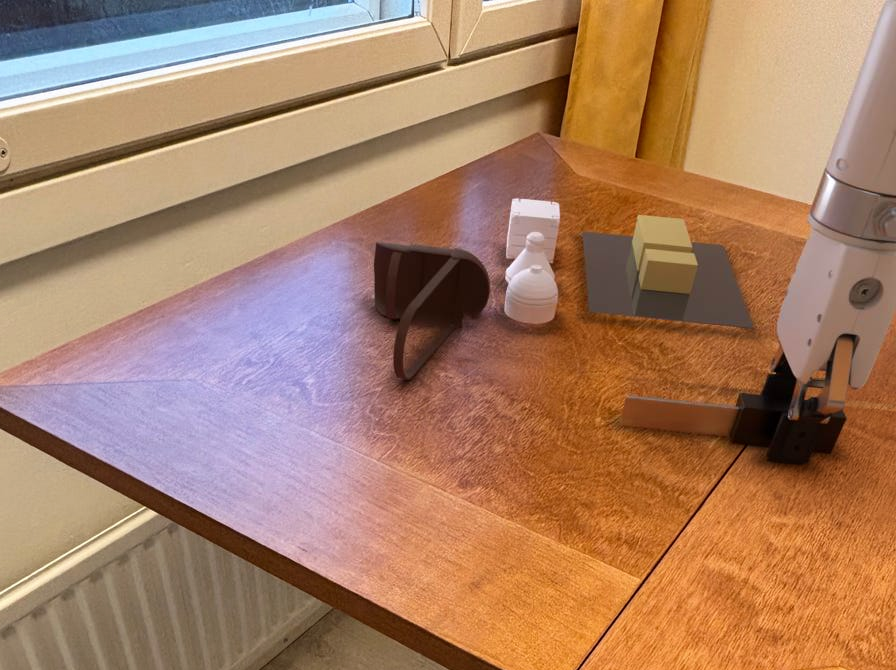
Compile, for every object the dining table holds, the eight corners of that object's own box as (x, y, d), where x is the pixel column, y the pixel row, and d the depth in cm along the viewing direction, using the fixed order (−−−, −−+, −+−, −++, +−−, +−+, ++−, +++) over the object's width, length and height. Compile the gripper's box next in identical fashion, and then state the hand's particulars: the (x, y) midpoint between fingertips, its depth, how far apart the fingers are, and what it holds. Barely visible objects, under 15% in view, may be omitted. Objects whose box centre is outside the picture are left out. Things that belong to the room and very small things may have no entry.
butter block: (676, 246, 99) (684, 218, 97) (684, 276, 94) (692, 247, 92) (631, 242, 99) (638, 214, 97) (637, 271, 94) (644, 242, 92)
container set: (504, 249, 98) (511, 196, 95) (551, 253, 98) (560, 201, 94) (500, 331, 84) (508, 273, 80) (555, 336, 84) (565, 278, 80)
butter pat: (686, 282, 92) (694, 253, 90) (689, 294, 90) (698, 265, 88) (638, 277, 93) (645, 248, 91) (640, 289, 91) (647, 259, 88)
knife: (823, 440, 74) (840, 402, 71) (830, 456, 72) (847, 418, 69) (618, 418, 74) (627, 380, 72) (620, 434, 72) (629, 395, 70)
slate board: (720, 253, 101) (723, 244, 101) (751, 338, 86) (754, 328, 86) (580, 239, 102) (582, 230, 101) (586, 321, 87) (588, 311, 86)
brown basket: (373, 297, 88) (375, 225, 83) (490, 313, 87) (498, 241, 82) (328, 386, 75) (327, 306, 70) (463, 406, 74) (472, 327, 69)
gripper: (971, 263, 54) (850, 507, 67) (892, 171, 66) (803, 392, 79) (846, 251, 54) (749, 496, 67) (791, 161, 66) (718, 383, 79)
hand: (779, 438), depth 73 cm, fingers open, 5 cm apart
